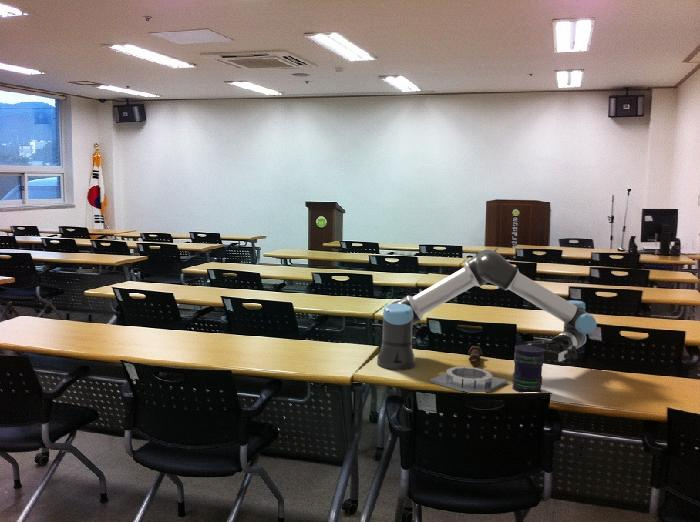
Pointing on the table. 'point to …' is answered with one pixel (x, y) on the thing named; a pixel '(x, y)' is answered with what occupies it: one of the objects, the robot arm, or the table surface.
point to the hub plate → (468, 389)
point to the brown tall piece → (475, 355)
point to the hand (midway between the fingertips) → (540, 354)
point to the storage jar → (528, 368)
